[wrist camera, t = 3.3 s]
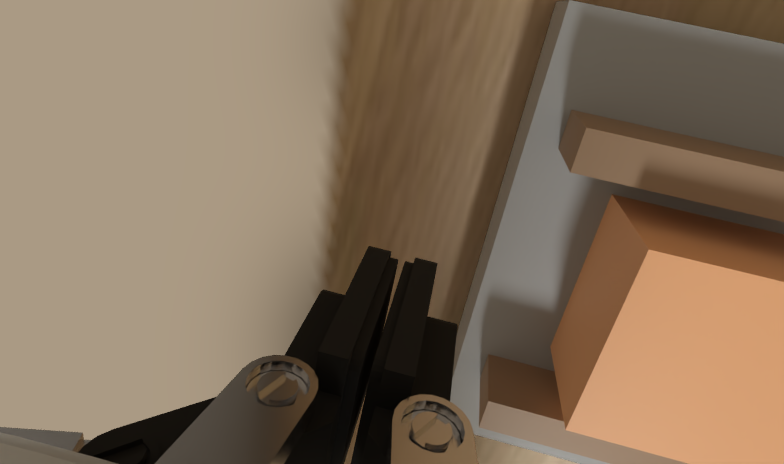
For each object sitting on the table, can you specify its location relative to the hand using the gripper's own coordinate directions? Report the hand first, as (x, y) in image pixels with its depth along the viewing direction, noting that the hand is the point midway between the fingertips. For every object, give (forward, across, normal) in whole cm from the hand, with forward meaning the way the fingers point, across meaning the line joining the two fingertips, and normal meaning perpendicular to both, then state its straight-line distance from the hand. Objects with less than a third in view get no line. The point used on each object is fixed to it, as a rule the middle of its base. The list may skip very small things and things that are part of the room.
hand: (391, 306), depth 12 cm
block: (+6, -9, +1) cm, 10 cm away
